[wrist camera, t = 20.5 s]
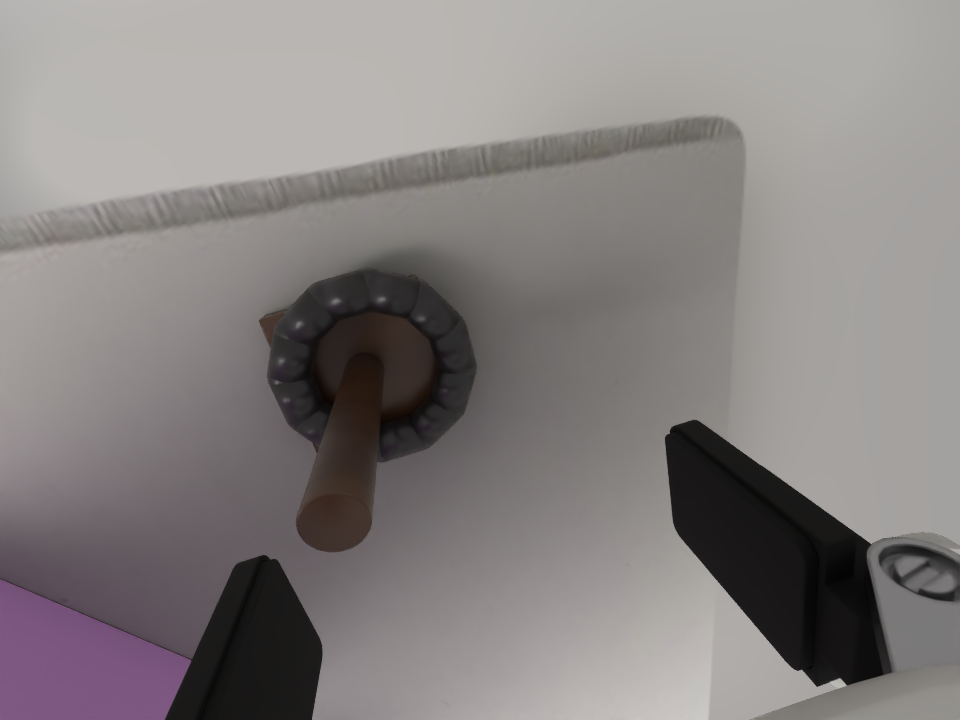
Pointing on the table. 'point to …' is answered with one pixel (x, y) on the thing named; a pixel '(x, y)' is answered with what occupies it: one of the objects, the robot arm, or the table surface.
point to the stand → (358, 418)
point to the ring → (357, 297)
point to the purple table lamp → (78, 665)
